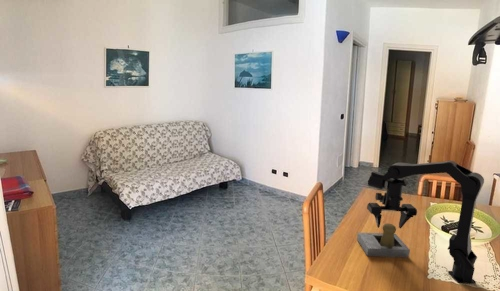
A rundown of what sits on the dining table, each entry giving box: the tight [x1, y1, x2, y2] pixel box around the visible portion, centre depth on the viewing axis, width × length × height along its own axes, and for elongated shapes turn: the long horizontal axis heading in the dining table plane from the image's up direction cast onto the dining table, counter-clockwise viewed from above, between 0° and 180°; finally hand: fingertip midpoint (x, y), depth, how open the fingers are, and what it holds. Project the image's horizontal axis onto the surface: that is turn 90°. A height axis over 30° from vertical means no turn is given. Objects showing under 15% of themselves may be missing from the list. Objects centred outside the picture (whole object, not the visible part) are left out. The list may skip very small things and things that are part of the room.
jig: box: [356, 232, 411, 258], centre depth 134 cm, size 13×17×4 cm
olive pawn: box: [379, 223, 397, 247], centre depth 133 cm, size 6×6×11 cm
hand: (388, 227), depth 133 cm, fingers open, 9 cm apart
